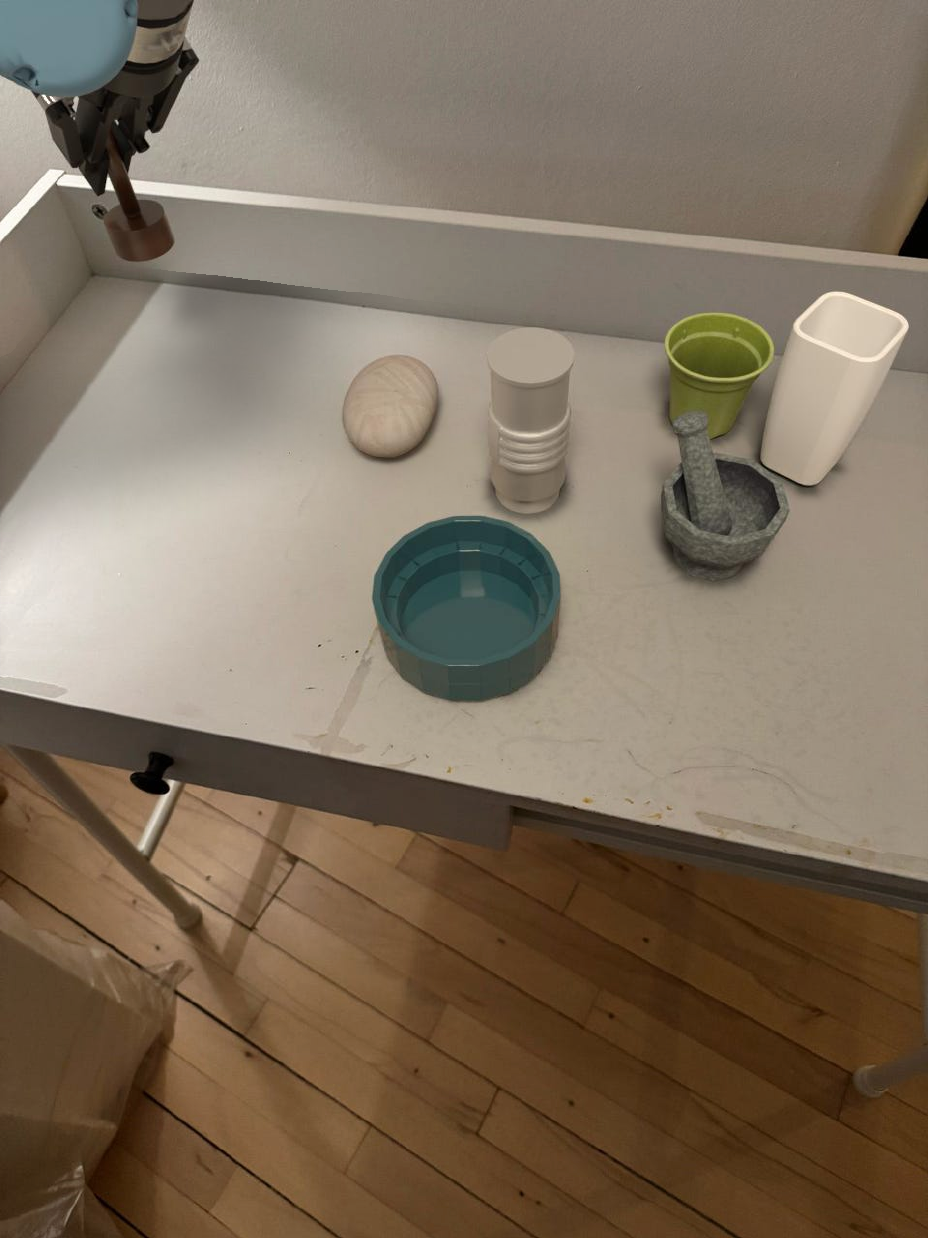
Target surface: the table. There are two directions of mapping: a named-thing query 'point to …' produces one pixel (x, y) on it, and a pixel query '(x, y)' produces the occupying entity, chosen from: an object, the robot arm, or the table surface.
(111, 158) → the wooden peg stand
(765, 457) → the cup
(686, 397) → the plant pot
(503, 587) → the bowl
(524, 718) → the table surface
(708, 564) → the mortar and pestle
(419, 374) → the decorative stone
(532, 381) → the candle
